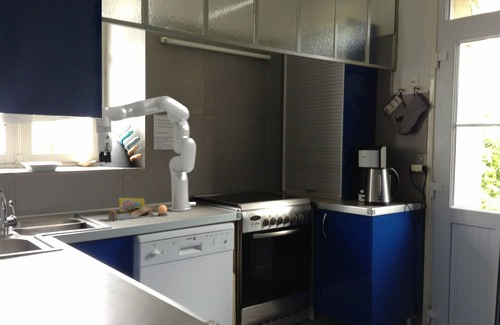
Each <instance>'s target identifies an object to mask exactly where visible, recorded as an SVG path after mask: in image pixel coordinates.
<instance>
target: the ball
mask: <svg viewBox="0 0 500 325" xmlns="http://www.w3.org/2000/svg"><path fill="white" fill-rule="evenodd" d="M157 212H158V213H160V214H165V213H166V214H167V212H168V208H167V206H166V205H164V204H160V205H159V206H158V208H157Z"/></svg>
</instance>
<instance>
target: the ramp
mask: <svg viewBox="0 0 500 325" xmlns="http://www.w3.org/2000/svg"><path fill="white" fill-rule="evenodd" d="M153 210H154V207H153V206H152V205H151V206H150V205H148V204H146V205H145V206H143V207H142V208H140V209H138V210H136V211H134V212H130V213H129V216H130V215H135V217H138V216H140V215H142V214H145V215H148V216H149V215H154V214H153ZM107 212H108V213H107V215H108V216H109V219H108V220H110V219H113V220H114V219H116V220H117V215H118V211H117V210H114V209H108V210H107ZM113 220H112V221H113Z"/></svg>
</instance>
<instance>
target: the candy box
mask: <svg viewBox="0 0 500 325" xmlns="http://www.w3.org/2000/svg"><path fill="white" fill-rule="evenodd" d="M145 202H146V201H145V198H141V197H140V198H137V197H136V198H135V197H134V198H133V197H120V198H118V203H119V204H118V205H119V213H132V212H134V211H136V210H138V209H140V208H142V207H143V206H145Z"/></svg>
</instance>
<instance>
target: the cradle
mask: <svg viewBox="0 0 500 325" xmlns="http://www.w3.org/2000/svg"><path fill="white" fill-rule="evenodd" d="M157 216H159V217H167V216H168V213H167V212H166V213H165V214H160V213H159V212H158V213H157Z"/></svg>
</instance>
